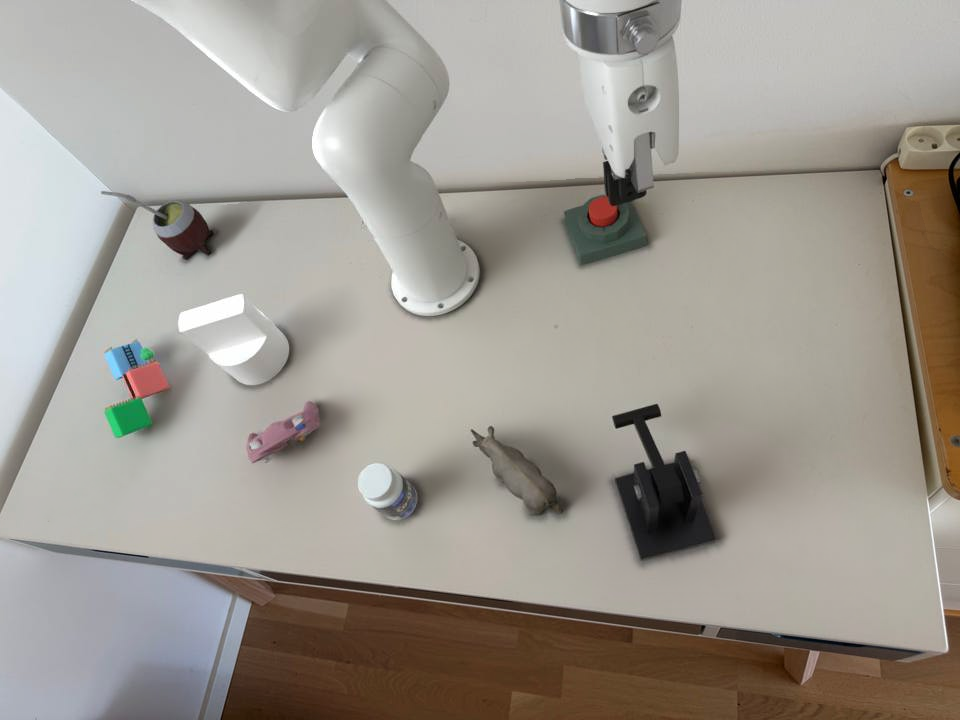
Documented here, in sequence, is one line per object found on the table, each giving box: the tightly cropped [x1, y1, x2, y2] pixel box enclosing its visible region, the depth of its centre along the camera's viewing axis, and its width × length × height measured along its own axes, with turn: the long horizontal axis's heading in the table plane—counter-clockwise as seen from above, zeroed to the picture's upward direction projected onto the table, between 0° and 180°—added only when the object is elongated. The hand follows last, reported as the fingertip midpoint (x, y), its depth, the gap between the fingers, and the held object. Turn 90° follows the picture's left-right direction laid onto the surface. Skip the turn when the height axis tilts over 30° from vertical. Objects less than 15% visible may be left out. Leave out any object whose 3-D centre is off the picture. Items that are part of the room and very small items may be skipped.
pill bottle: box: [357, 462, 418, 521], centre depth 74 cm, size 5×5×8 cm
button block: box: [563, 194, 648, 266], centre depth 87 cm, size 8×9×4 cm
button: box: [589, 197, 617, 227], centre depth 85 cm, size 4×4×2 cm
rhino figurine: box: [470, 425, 564, 517], centre depth 73 cm, size 4×14×6 cm, turn 41°
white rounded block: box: [177, 293, 290, 386], centre depth 87 cm, size 9×9×12 cm
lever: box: [611, 403, 684, 506], centre depth 66 cm, size 12×5×2 cm, turn 12°
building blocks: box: [103, 338, 170, 439], centre depth 90 cm, size 8×8×12 cm
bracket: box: [614, 450, 717, 562], centre depth 66 cm, size 9×8×12 cm
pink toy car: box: [245, 400, 320, 464], centre depth 82 cm, size 10×5×7 cm, turn 117°
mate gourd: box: [100, 190, 215, 261], centre depth 98 cm, size 8×8×15 cm
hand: (625, 194), depth 57 cm, fingers closed
